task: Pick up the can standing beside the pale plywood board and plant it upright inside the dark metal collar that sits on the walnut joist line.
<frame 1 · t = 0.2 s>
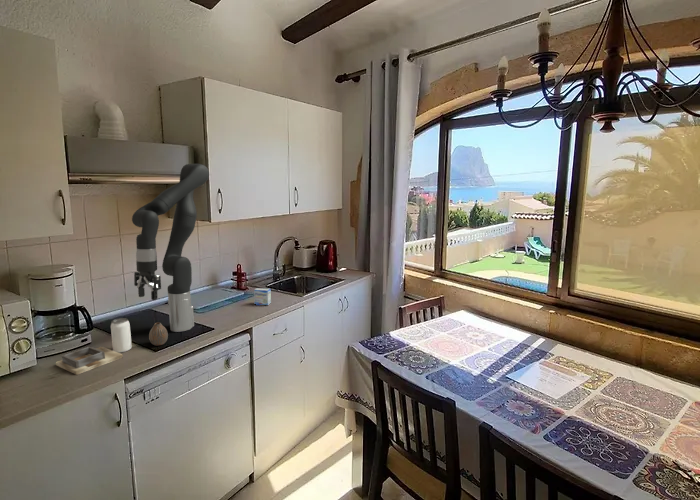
hand: (147, 298, 163), 18 cm above the table, tool pointing down, fingers open, 8 cm apart
can: (122, 350, 156), on the table
medicine box: (262, 304, 215), on the table
vase: (159, 344, 162), on the table
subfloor: (90, 361, 146), on the table
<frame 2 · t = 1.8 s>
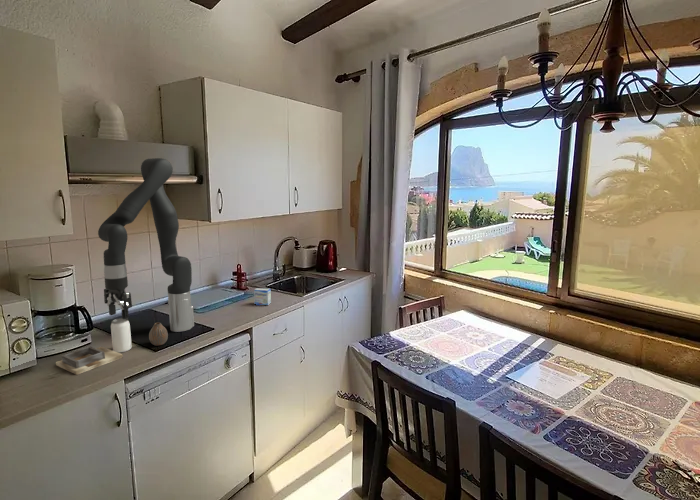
hand: (118, 316, 153), 14 cm above the table, tool pointing down, fingers open, 8 cm apart
nothing on the table moved.
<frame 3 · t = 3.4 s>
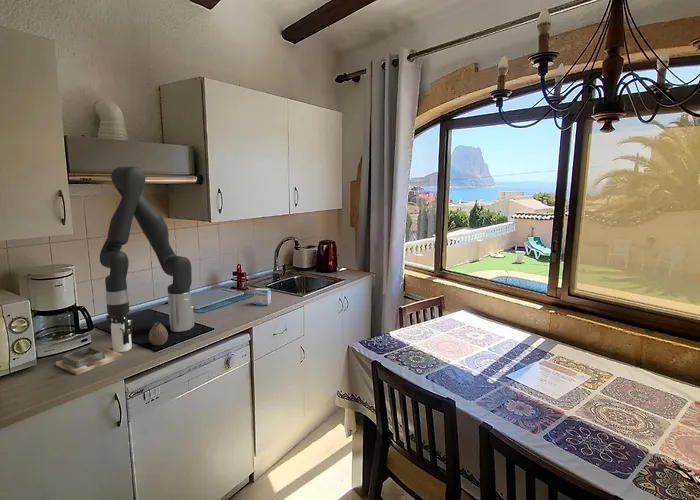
hand: (121, 342, 155), 3 cm above the table, tool pointing down, fingers closed on can, 5 cm apart
can: (122, 350, 156), on the table, touching gripper
everything else where it was.
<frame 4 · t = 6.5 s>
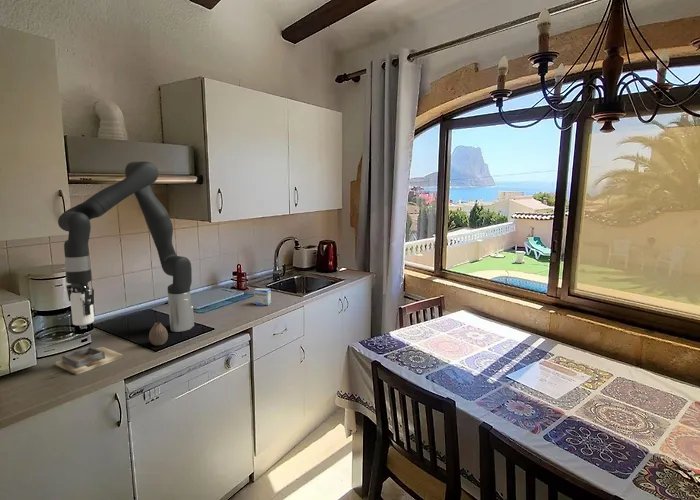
hand: (82, 314, 142), 18 cm above the table, tool pointing down, fingers closed on can, 5 cm apart
can: (83, 323, 142), point 15 cm above the table, touching gripper
everything else where it was.
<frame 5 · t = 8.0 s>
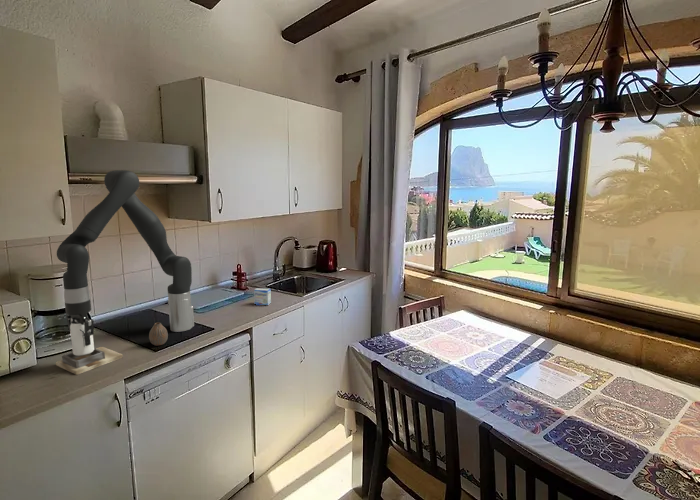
hand: (82, 344, 143), 7 cm above the table, tool pointing down, fingers closed on can, 5 cm apart
can: (83, 353, 143), point 4 cm above the table, touching gripper
everything else where it was.
when the fingers open (6 cm above the table, at t = 9.1 s): can drops 1 cm, resting on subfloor.
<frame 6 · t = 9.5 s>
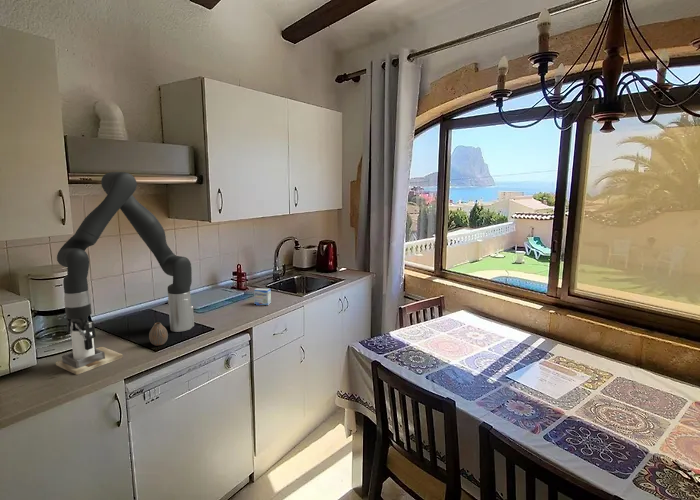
hand: (82, 346, 143), 6 cm above the table, tool pointing down, fingers open, 8 cm apart
can: (84, 360, 143), point 1 cm above the table, touching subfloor
everything else where it was.
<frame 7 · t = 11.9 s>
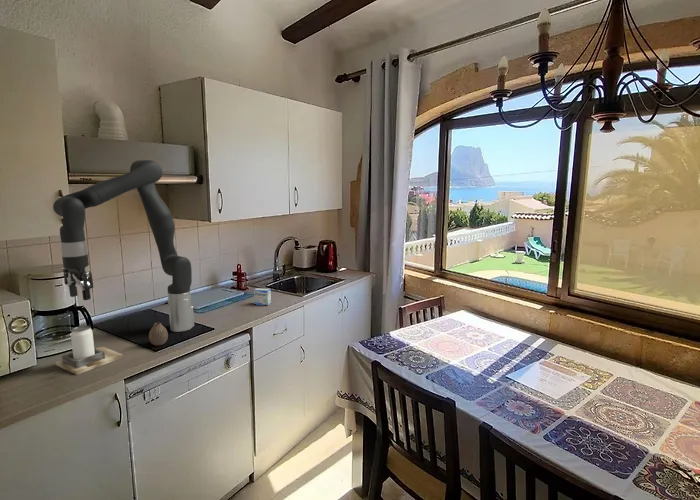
hand: (80, 298, 143), 24 cm above the table, tool pointing down, fingers open, 8 cm apart
nothing on the table moved.
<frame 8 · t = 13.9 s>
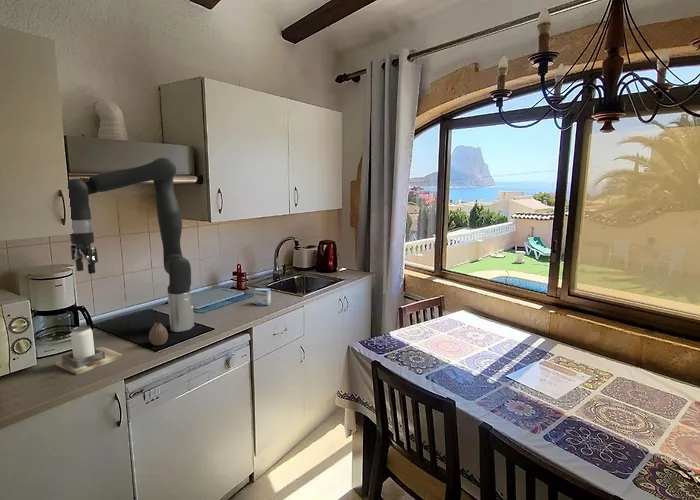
hand: (85, 272, 155), 30 cm above the table, tool pointing down, fingers open, 8 cm apart
nothing on the table moved.
at the end: can 0.3 cm from the target spot, point 1.2 cm above the table; can tilted 0°; the gripper is holding nothing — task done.
